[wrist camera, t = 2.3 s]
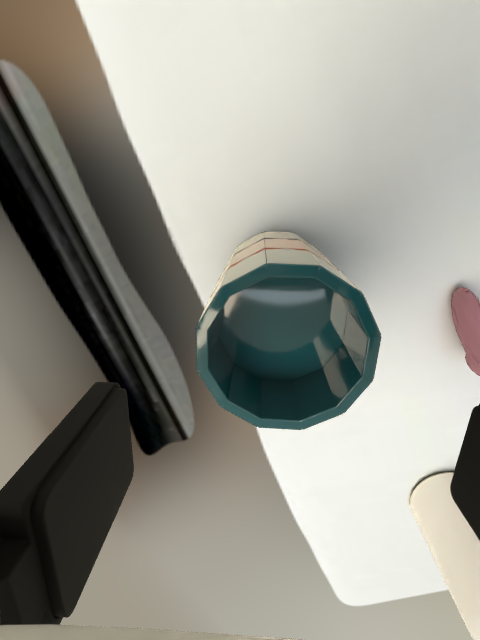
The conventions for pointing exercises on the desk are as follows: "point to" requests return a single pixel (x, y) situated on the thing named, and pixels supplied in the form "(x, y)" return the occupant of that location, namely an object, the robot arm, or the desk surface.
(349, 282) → the top bowl
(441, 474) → the can
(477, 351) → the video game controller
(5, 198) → the desk surface
